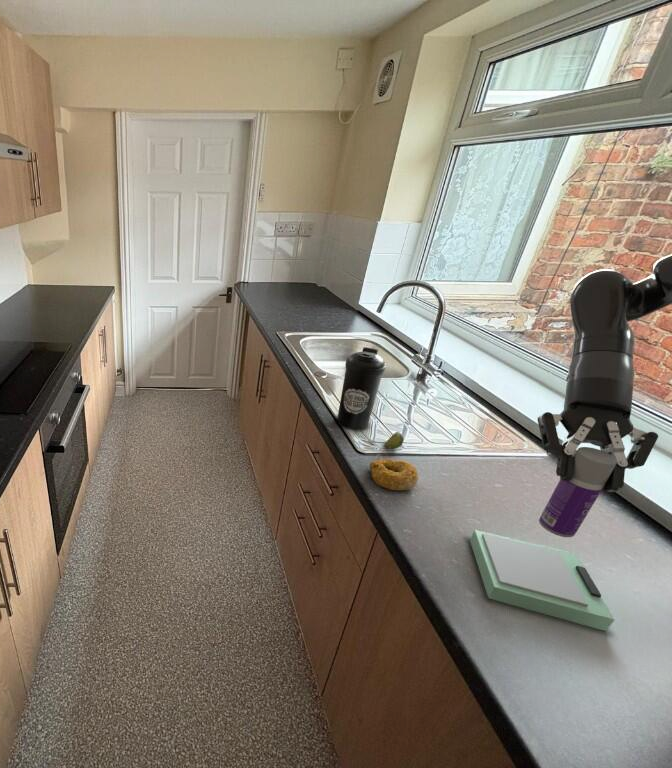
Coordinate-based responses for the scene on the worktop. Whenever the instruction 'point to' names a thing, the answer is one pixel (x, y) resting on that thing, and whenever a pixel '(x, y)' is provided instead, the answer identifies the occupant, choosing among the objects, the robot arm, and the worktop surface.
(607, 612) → the scale
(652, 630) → the worktop surface
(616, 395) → the robot arm
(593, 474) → the container
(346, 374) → the water bottle
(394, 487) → the bagel
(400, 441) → the lime
